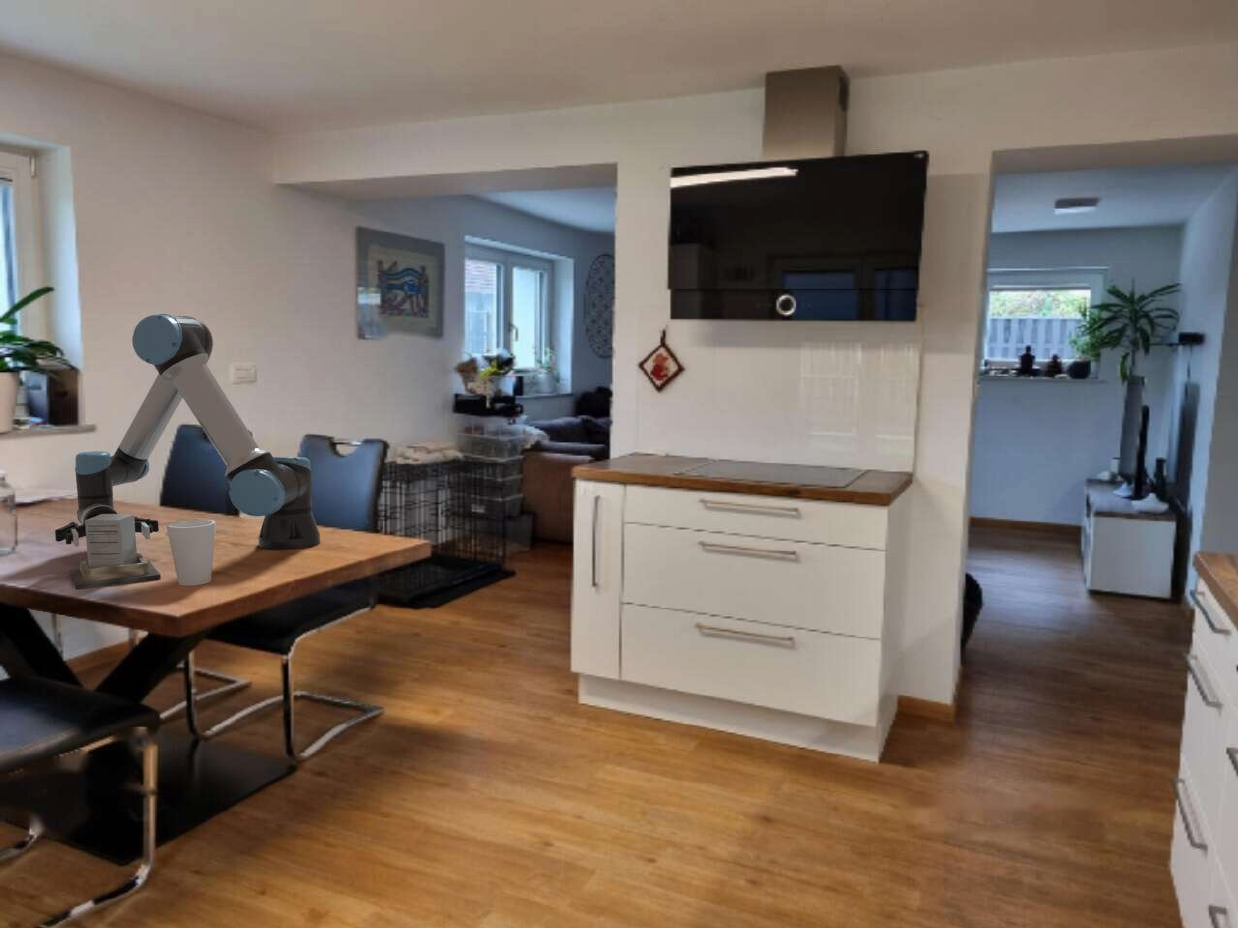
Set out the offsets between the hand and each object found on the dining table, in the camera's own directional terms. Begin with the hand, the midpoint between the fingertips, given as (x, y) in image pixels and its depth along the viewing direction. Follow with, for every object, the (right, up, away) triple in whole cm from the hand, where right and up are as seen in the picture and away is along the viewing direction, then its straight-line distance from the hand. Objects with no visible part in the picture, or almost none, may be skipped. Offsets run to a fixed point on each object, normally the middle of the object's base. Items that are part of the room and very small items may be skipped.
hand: (113, 536), depth 190 cm
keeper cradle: (-2, -9, +3) cm, 10 cm away
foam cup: (+18, -10, 0) cm, 21 cm away
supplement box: (-2, -8, +3) cm, 9 cm away
